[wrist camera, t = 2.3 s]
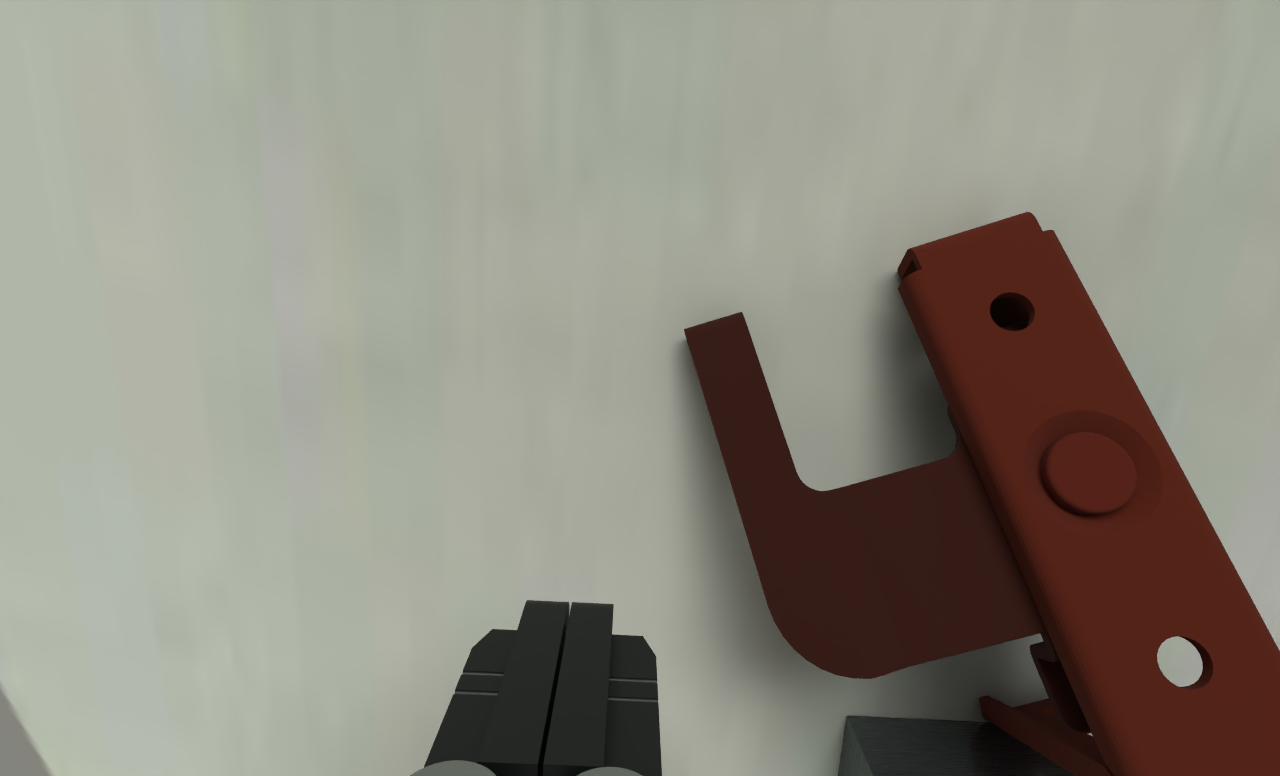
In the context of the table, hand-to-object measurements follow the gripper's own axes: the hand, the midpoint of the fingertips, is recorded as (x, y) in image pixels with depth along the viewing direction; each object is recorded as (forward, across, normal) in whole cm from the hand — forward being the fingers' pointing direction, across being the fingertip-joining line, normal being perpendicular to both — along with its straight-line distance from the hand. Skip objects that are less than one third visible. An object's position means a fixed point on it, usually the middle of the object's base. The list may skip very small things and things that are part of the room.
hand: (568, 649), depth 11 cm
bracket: (+10, -10, +1) cm, 15 cm away
